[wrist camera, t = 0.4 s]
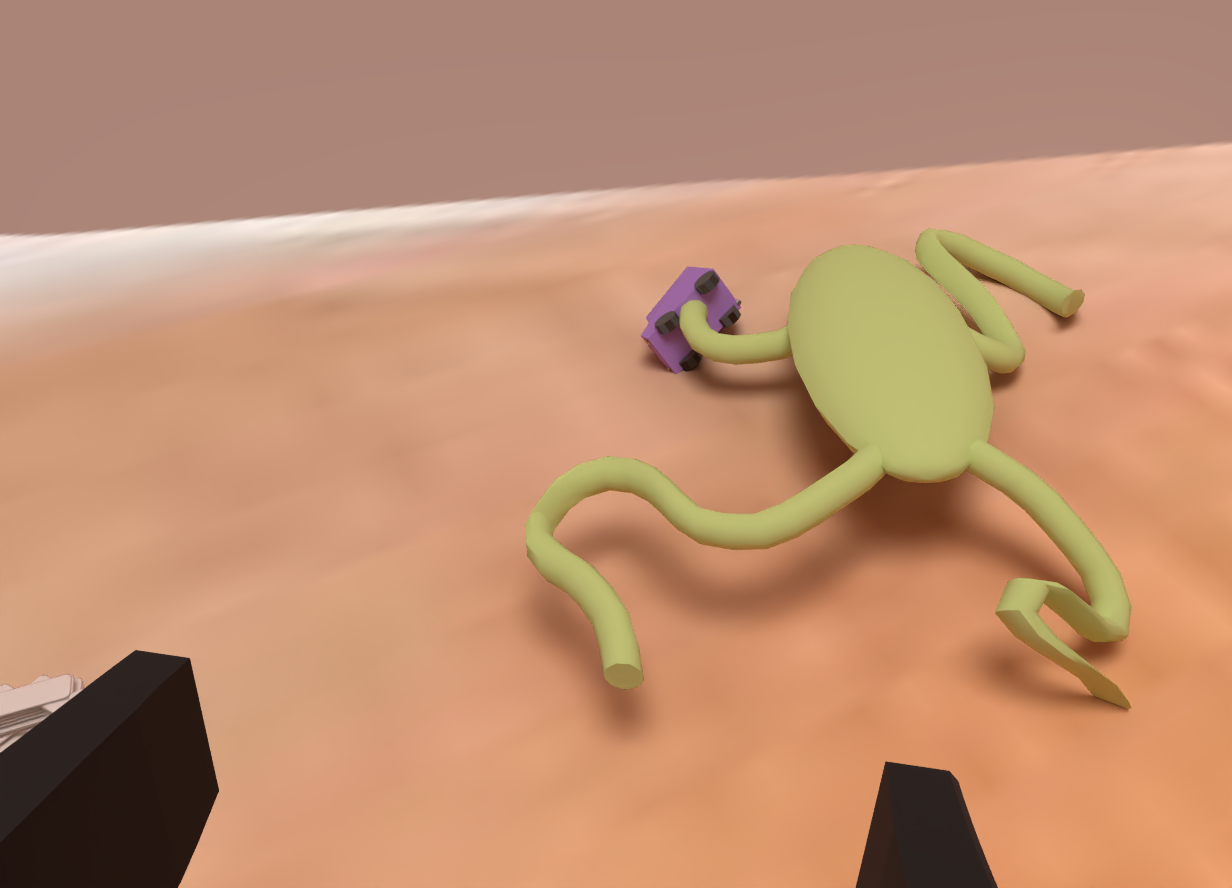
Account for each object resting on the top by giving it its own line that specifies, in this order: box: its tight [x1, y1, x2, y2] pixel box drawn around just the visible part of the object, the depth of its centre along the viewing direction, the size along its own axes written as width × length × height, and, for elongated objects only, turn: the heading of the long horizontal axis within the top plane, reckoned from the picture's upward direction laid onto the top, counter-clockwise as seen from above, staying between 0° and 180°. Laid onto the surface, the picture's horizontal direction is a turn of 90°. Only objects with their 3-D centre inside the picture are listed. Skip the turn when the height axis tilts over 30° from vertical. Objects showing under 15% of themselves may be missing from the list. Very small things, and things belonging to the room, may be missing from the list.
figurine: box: [525, 229, 1131, 709], centre depth 43 cm, size 18×27×6 cm
